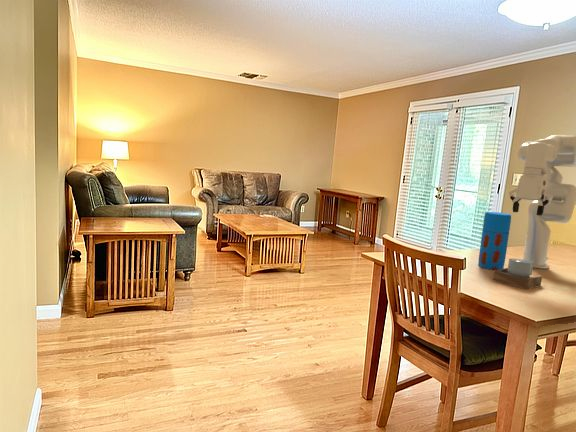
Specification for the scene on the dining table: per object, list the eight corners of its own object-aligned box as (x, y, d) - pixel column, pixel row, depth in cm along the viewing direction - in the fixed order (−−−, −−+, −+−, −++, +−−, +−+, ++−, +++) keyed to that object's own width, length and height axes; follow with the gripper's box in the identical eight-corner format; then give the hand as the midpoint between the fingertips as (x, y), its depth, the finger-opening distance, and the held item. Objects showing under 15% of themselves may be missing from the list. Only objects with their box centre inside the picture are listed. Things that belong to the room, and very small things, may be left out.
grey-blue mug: (518, 277, 174) (521, 256, 173) (538, 282, 168) (542, 261, 166) (502, 281, 166) (505, 259, 165) (522, 287, 160) (525, 264, 158)
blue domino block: (506, 271, 183) (515, 216, 179) (481, 268, 185) (488, 213, 181) (499, 265, 193) (507, 213, 190) (475, 263, 195) (482, 211, 192)
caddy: (507, 276, 174) (509, 267, 173) (540, 285, 163) (542, 275, 163) (492, 280, 167) (494, 270, 166) (526, 289, 156) (527, 279, 156)
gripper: (560, 174, 165) (553, 216, 167) (517, 172, 179) (511, 211, 181) (551, 173, 161) (544, 216, 163) (508, 171, 175) (502, 210, 177)
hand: (527, 213), depth 172 cm, fingers open, 9 cm apart
